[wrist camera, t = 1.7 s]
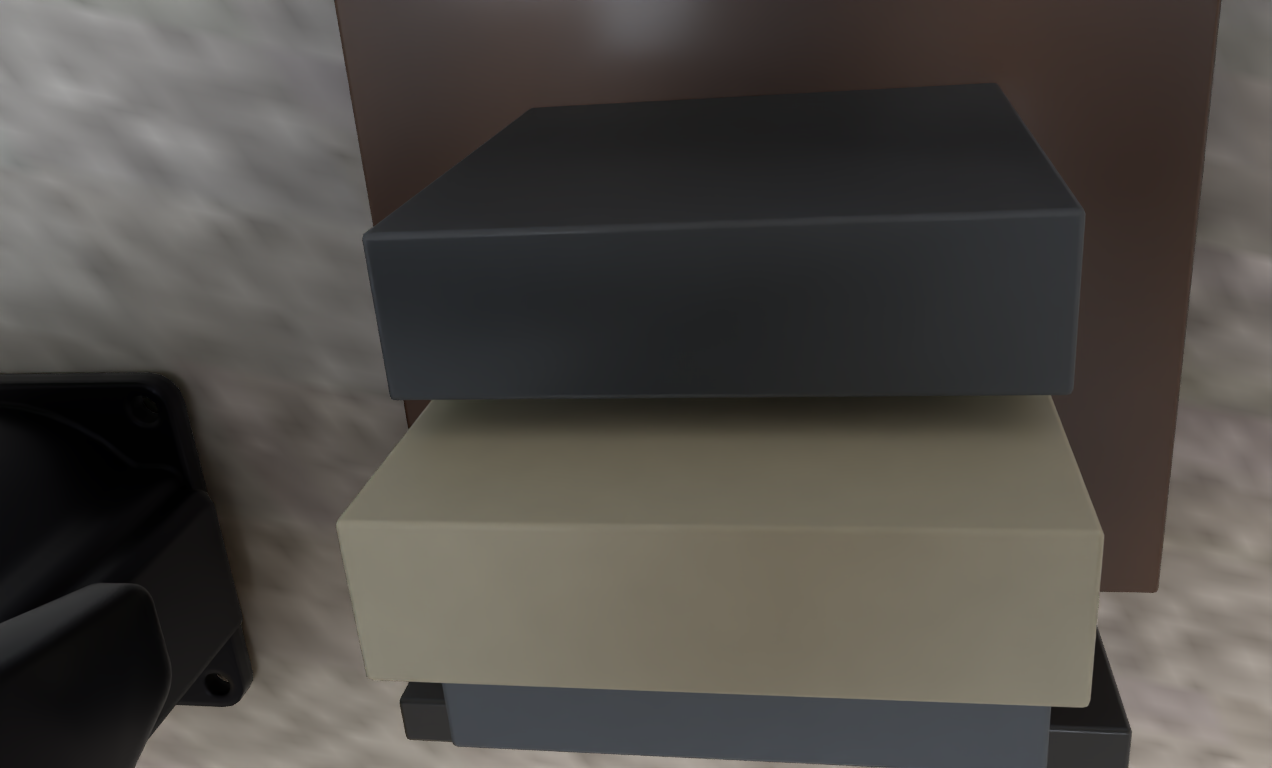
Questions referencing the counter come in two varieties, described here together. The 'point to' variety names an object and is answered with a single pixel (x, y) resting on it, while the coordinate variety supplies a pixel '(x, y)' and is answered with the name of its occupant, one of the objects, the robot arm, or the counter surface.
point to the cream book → (733, 548)
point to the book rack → (863, 60)
